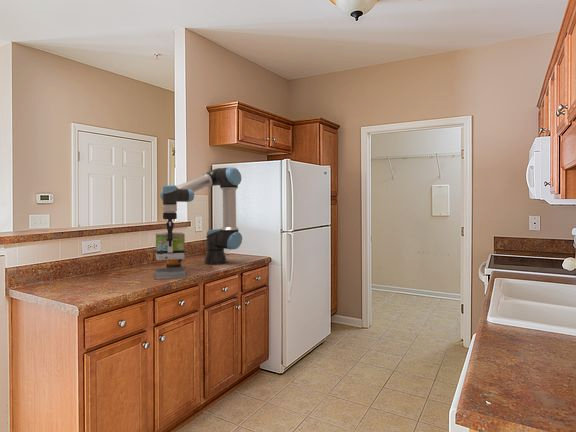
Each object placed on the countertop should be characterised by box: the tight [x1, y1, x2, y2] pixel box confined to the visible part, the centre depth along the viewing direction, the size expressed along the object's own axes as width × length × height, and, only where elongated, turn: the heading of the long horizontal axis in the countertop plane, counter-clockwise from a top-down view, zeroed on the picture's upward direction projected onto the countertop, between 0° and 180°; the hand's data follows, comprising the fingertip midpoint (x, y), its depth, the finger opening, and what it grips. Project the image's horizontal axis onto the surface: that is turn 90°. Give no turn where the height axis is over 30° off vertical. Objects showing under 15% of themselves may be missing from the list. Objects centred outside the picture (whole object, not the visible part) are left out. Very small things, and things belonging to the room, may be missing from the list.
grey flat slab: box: [154, 266, 187, 280], centre depth 226 cm, size 16×15×4 cm
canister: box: [166, 259, 183, 268], centre depth 253 cm, size 9×11×20 cm
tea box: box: [155, 232, 186, 261], centre depth 225 cm, size 15×10×15 cm
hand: (170, 251), depth 225 cm, fingers closed on tea box, 10 cm apart
